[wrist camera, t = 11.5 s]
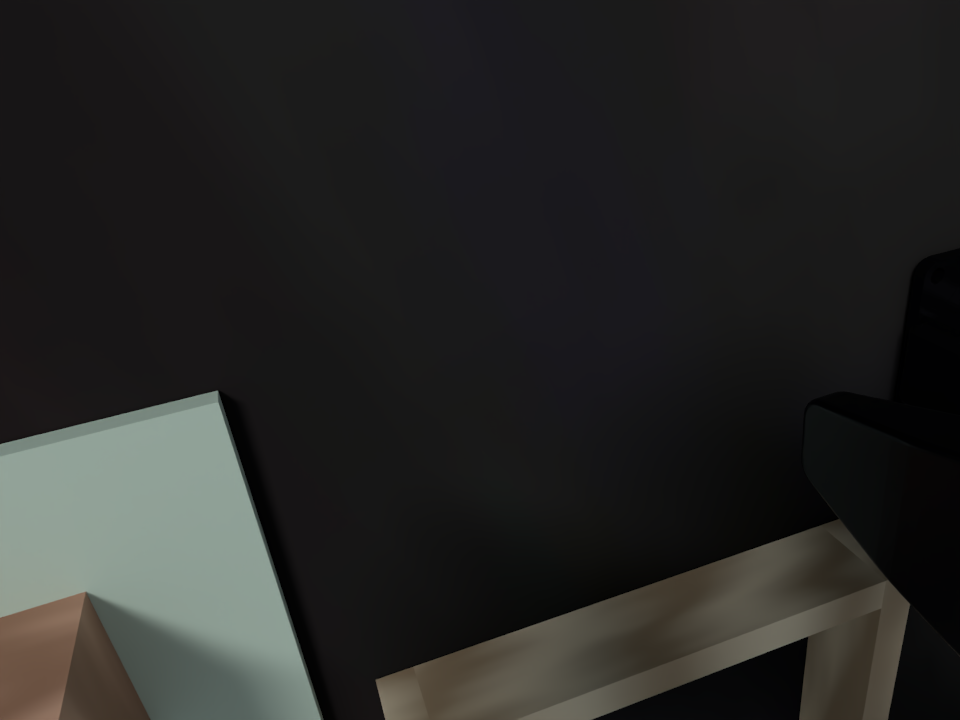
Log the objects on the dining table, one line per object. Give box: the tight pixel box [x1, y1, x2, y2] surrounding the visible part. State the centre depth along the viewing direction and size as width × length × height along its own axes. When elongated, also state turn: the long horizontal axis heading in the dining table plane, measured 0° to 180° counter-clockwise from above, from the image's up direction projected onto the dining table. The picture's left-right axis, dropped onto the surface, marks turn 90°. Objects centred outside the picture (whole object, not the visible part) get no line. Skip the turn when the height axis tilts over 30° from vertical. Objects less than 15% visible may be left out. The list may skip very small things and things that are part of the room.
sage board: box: [0, 391, 324, 720], centre depth 19 cm, size 13×13×1 cm
